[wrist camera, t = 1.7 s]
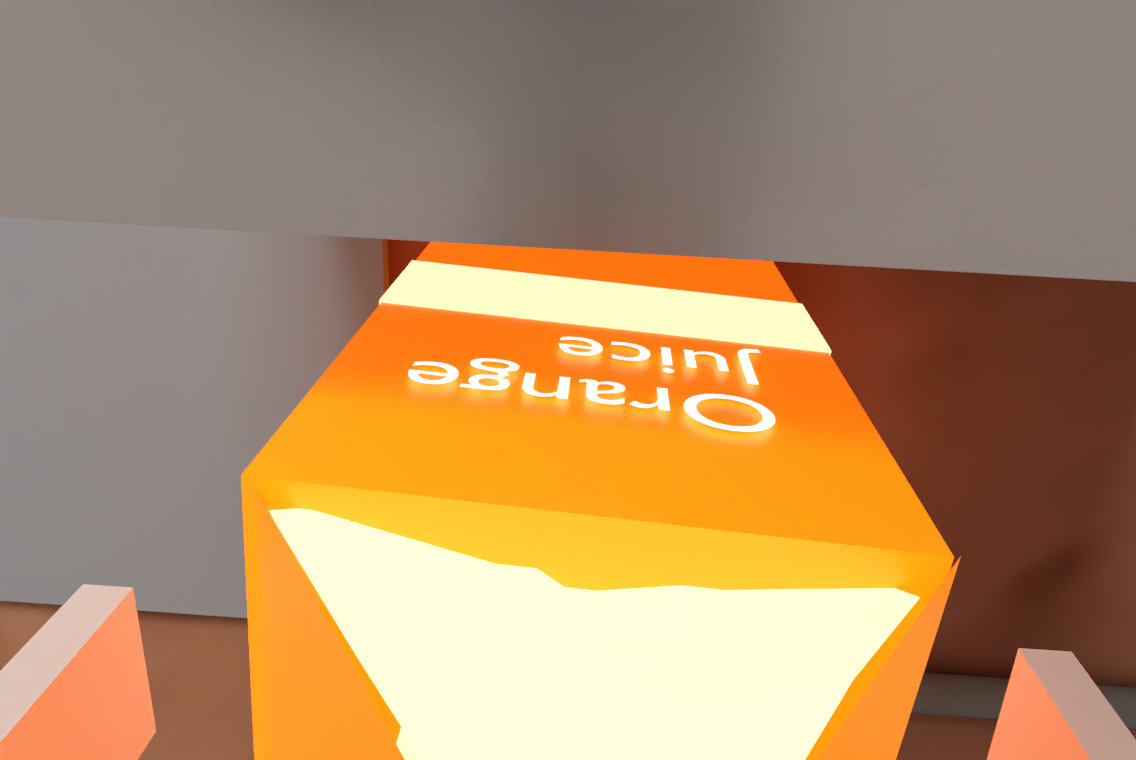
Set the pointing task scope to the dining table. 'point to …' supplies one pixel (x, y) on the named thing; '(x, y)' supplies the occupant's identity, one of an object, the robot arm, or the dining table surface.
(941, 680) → the dark gray rod
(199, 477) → the felt mat
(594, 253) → the orange juice
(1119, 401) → the dining table surface
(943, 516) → the dining table surface
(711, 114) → the box
